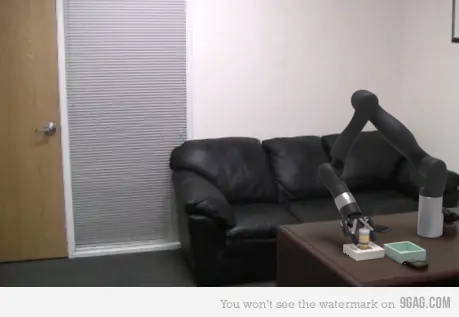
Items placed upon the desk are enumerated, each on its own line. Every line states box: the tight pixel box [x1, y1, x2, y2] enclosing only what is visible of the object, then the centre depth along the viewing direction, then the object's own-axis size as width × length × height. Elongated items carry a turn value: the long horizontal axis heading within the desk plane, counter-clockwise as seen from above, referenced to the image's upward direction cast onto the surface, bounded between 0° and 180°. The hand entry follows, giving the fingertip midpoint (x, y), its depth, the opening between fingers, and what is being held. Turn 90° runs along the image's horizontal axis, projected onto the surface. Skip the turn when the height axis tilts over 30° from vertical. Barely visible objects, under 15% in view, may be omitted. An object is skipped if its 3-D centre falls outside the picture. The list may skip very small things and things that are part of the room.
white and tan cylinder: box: [358, 228, 370, 250], centre depth 218 cm, size 4×4×10 cm
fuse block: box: [342, 241, 385, 262], centre depth 218 cm, size 12×10×3 cm
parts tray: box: [383, 240, 427, 265], centre depth 215 cm, size 11×11×4 cm
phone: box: [364, 223, 391, 234], centre depth 251 cm, size 8×1×15 cm
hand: (366, 242), depth 217 cm, fingers open, 8 cm apart
